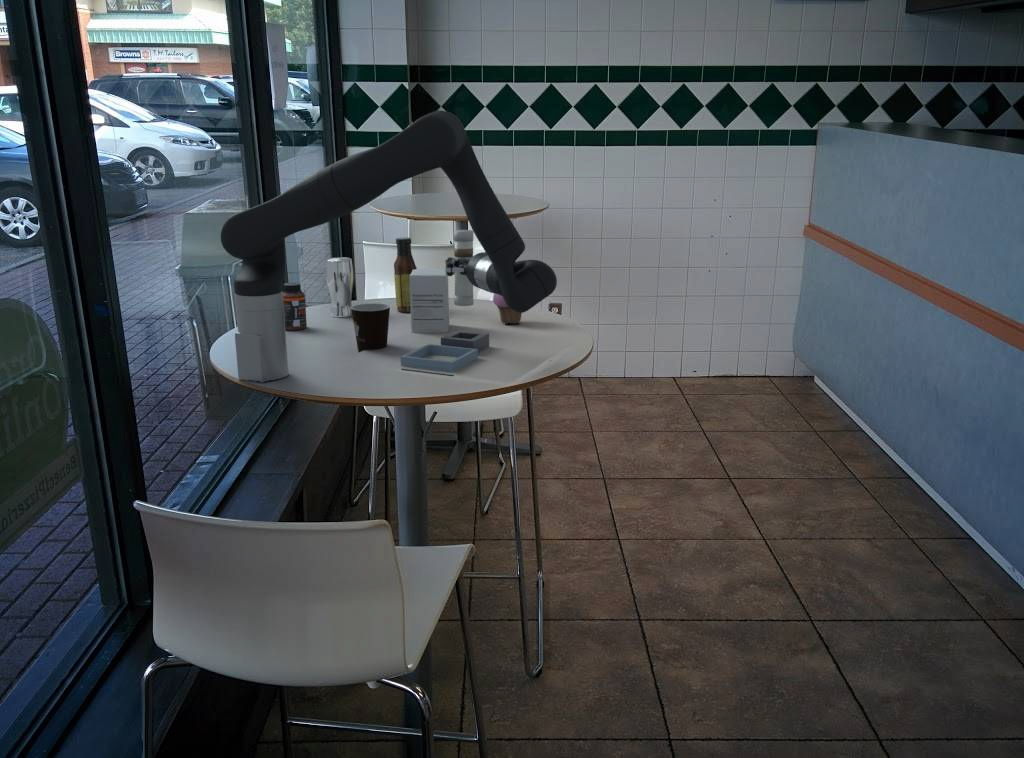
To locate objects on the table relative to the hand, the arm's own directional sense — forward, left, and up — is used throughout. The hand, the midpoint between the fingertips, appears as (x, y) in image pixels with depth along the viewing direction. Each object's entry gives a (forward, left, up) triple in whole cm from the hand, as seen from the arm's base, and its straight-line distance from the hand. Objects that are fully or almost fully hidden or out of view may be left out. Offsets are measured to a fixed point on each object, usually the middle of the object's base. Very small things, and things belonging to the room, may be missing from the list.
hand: (458, 261), depth 196 cm
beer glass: (+21, +46, -20) cm, 55 cm away
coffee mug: (-7, +19, -20) cm, 28 cm away
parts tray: (-14, -2, -20) cm, 25 cm away
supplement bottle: (+3, +48, -20) cm, 52 cm away
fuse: (-2, -2, -9) cm, 9 cm away
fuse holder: (-2, -2, -20) cm, 20 cm away
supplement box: (+13, +15, -20) cm, 28 cm away
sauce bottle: (+33, +33, -20) cm, 51 cm away
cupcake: (+30, +1, -20) cm, 36 cm away
